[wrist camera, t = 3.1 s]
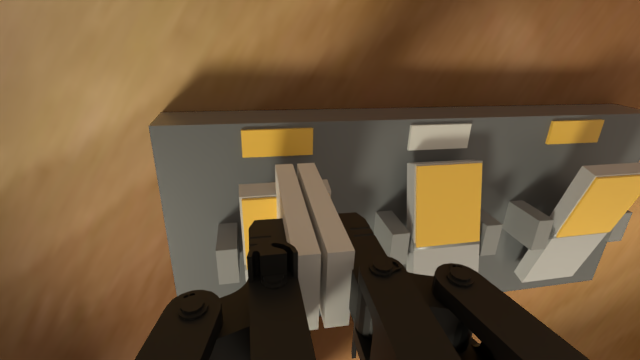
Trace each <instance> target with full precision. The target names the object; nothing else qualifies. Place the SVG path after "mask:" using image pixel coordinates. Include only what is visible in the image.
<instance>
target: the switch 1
mask: <svg viewBox="0 0 640 360" xmlns="http://www.w3.org/2000/svg"><path fill="white" fill-rule="evenodd" d="M322 181H323V183H324V185H325V187H326V189H327V191H328V194H329V196H330V198H331V189H330V186H329V183H328V180H327V179H324V180H322ZM239 204H240V216H241V229H242V241H243V253H244V266H245V278H246V282H247V280H248V268H247V255H248V251H249V227H250V226H251V224H252V223H253V222H254V220H265V219H277V198H276V182H272V183H255V184H239Z"/></svg>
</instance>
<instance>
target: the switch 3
mask: <svg viewBox="0 0 640 360" xmlns="http://www.w3.org/2000/svg"><path fill="white" fill-rule="evenodd" d="M639 196H640V162H639V163H622V164H605V165H588V166H582V167H581V169H580V170H579V172H578V173H577V175H576V176H575V178H574V179H573V181H572V182H571V184H570V186H569V187H568V189H567V190H566V192H565V193H564V195H563V196H562V198H561V200H560V201H559V203H558V204H557V206H556V207H555V209H554V210H553V212H552V213H551V215H550V217H551V218H552V219H554V223H553V226H552V229H551V232H550V235H549V238H548V242H547V245H546V248H545V249H540V250H529V249H528V251H527V252H526V254H525V255H524V257H523V258H522V260H521V262H520V263H519V265H518V266H517V268H516V269H515V271H514V273H515V274H516V275H517V277H518V278H519V279H520V281H521V282H522V283H523V282H531V281H539V280H546V279H554V278H562V277H570V276H573V275H574V273H575V272H576V271H577V270H578V268H579V267H580V266H581V265H582V263H583V262H584V261H585V260H586V259H587V257H588V256H589V255H590V254H591V252H592V251H593V250H594V249H595V247H596V246H597V245H598V244H599V243H600V241H601V240H602V239H603V238H604V236H605V235H606V234H607V233H608V232H610V231H611V230H612V229H613V227H614V226H615V225H616V224H617V223H618V221H619V220H620V219H621V218H622V216H623V215H624V214H625V213H626V212H627V210H628V209H629V208H630V207H631V205H632V204H633V203H634V202H635V201H636V199H637V198H638V197H639Z"/></svg>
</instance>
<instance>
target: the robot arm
mask: <svg viewBox="0 0 640 360" xmlns="http://www.w3.org/2000/svg"><path fill="white" fill-rule="evenodd" d="M275 182H276V198H277V219H265V220H254V222H253V223H252V224H251V226H250V227H249V251H248V255H247V268H248V280H247V282H246V283H245V284H244V285H243V286H242V287H241V288H240V289H239V290H237V291H236V292H234V293H231V294H229V295H227V296H224V297H221V298H219V297H218V295H216V294H215V293H213V292H212V291H207V290H192V291H189V292H186V293H183V294H181V295H179V296H177V297H176V298H174V299H173V300H172V301H171V302H170V303H169V304H168V305H167V306H166V308H165V309H164V311H163V313H162V314H161V316H160V318H159V319H158V321H157V323H156V324H155V326H154V328H153V330H152V331H151V333H150V335H149V336H148V338H147V340H146V341H145V343H144V345H143V346H142V348H141V350H140V351H139V353H138V355H137V356H136V358H135V360H316V358H315V353H314V349H313V344H312V339H311V335H310V330H316V329H318V327H319V309H320V313H321V317H322V321H323V325H324V328H331V327H339V326H347V325H349V318H350V313H351V316H352V319H353V322H354V329H353V340H352V351H351V352H352V358H356V349H357V352H358V355H359V358H360V360H589V359H588V358H587V357H585V356H584V355H583V354H581V353H580V352H579V351H578V350H576V349H575V348H574V347H573V346H571V345H570V344H569V343H567V342H566V341H565V340H564V339H562V338H561V337H560V336H558V335H557V334H556V333H555V332H553V331H552V330H551V329H550V328H548V327H547V326H546V325H544V324H543V323H542V322H541V321H539V320H538V319H537V318H535V317H534V316H533V315H532V314H530V313H529V312H528V311H526V310H525V309H524V308H523V307H521V306H520V305H519V304H518V303H516V302H515V301H514V300H512V299H511V298H510V297H509V296H507V295H506V294H505V293H503V292H502V291H501V290H500V289H498V288H497V287H496V286H495V285H493V284H492V283H491V282H489V281H488V280H487V279H486V278H484V277H483V276H482V275H480V274H479V273H478V272H476V271H475V270H473V269H471V268H470V267H467V266H464V265H461V264H454V263H448V264H442V265H440V266H439V267H437V269H436V271H435V274H434V276H429V275H421V274H414V273H410V272H407V270H406V269H405V267H404V266H403V265H402V264H401V263H400V262H399V261H398V260H396V259H394V258H392V257H388V256H387V255H386V253H385V251H384V250H383V248H382V246H381V245H380V243H379V241H378V239H377V238H376V236H375V235H374V233H373V231H372V229H371V228H370V226H369V224H368V222H367V221H366V219H365V218H363V217H362V216H361V215H359V214H358V213H356V212H352V213H337V211H336V209H335V206H334V204H333V202H332V200H331V198H330V196H329V194H328V191H327V189H326V187H325V185H324V183H323V181H322V178H321V176H320V174H319V172H318V170H317V168H316V166H315V163H300V164H297V176H296V173H295V170H294V166H293V164H277V165H275ZM472 333H474V334H475V335H476V336H477V337H478V338H479V339H480V340H481V341H482V342H481V344H479V343H477V342H476V341H475V340H474V339H473V338H472Z"/></svg>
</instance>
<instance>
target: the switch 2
mask: <svg viewBox="0 0 640 360" xmlns="http://www.w3.org/2000/svg"><path fill="white" fill-rule="evenodd" d="M482 163H483V161H480V160H454V161H434V162H415V163H407V230H408V231H409V232H410V239H409V246H408V253H407V260H406V270H407V272H410V273H414V274H421V275H429V276H434V274H435V271H436V269H437V267H439V266H440V265H442V264H448V263H454V264H461V265H464V266H467V267H470V268H471V269H473V270H475V271H476V272H478V269H479V244H480V216H481V190H482Z"/></svg>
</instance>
